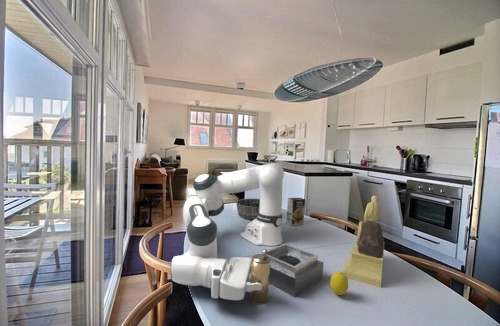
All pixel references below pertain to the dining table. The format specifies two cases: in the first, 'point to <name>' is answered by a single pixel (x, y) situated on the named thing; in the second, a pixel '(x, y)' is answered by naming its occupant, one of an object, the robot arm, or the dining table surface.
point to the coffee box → (295, 211)
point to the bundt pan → (248, 208)
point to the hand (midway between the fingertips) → (263, 278)
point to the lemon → (339, 283)
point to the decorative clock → (367, 249)
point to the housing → (293, 269)
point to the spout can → (260, 277)
